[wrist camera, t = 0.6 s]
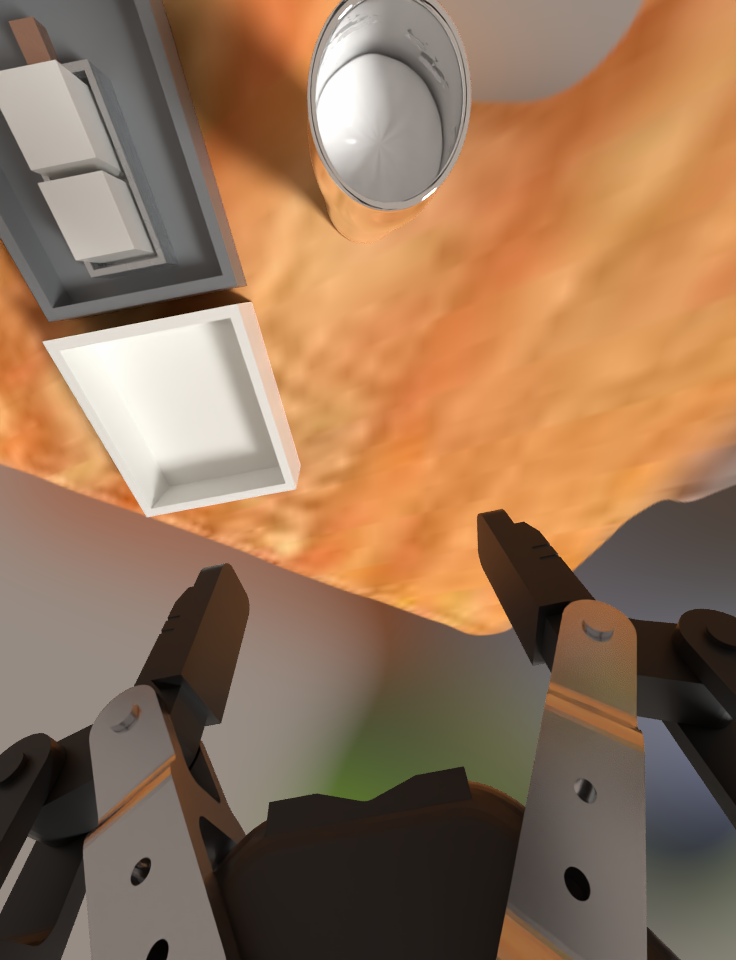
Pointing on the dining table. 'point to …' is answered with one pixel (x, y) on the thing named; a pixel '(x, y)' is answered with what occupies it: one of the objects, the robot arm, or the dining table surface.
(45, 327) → the dining table surface
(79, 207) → the off-white cube
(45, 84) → the light grey cube block
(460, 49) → the silver metal goblet
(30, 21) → the scoop
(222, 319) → the bin
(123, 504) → the dining table surface
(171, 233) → the tray
